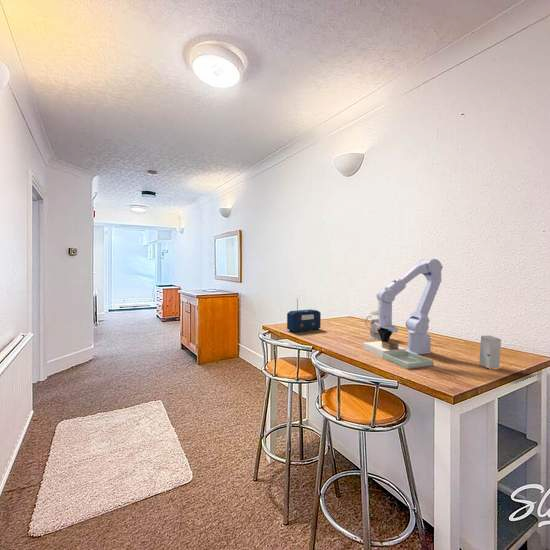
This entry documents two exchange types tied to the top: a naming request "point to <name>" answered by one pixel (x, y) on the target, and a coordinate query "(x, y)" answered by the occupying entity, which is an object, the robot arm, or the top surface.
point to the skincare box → (490, 351)
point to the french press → (372, 332)
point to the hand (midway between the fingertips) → (384, 344)
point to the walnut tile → (390, 345)
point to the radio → (303, 320)
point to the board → (379, 348)
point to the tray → (407, 359)
